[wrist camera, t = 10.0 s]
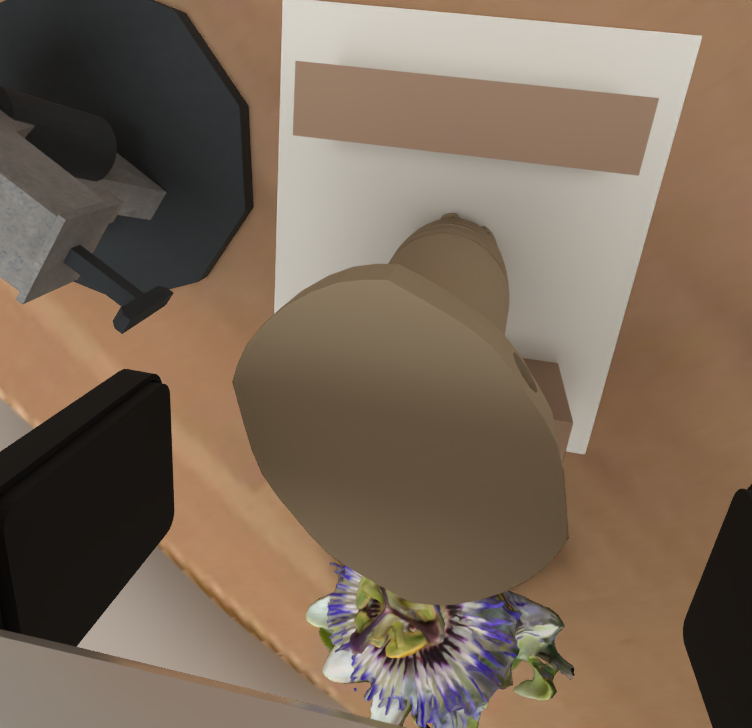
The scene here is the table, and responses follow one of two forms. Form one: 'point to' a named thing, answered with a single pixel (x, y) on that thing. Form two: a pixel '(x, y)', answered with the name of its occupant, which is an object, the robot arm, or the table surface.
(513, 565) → the handle
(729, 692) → the robot arm
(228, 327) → the table surface
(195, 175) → the gun turret
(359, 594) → the passion flower
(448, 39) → the white base with blocks
